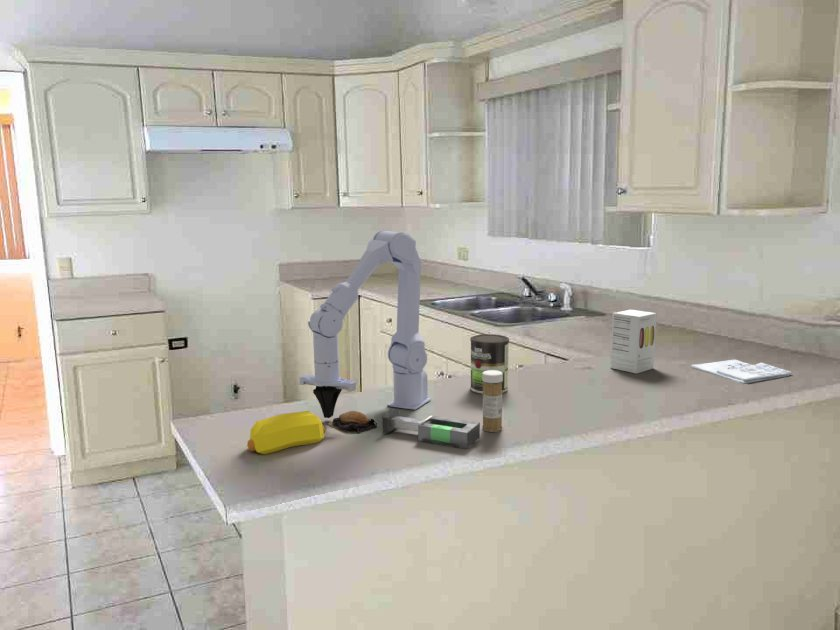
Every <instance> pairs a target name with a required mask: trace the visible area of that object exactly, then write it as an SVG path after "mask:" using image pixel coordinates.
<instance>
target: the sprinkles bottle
mask: <svg viewBox="0 0 840 630" xmlns="http://www.w3.org/2000/svg"><path fill="white" fill-rule="evenodd" d="M482 380H483V394H482V426H481V427H482V430H483V431H485V432H488V433H489V432H490V433H496V432H497V433H498V432H500V431H502V429H503V425H502V424H503V423H502V422H503V421H502V417H503V393H502V381H503V373H502V372H500V371H497V370H488V371H484V372H483V373H482Z"/></svg>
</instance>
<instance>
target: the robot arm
mask: <svg viewBox="0 0 840 630" xmlns="http://www.w3.org/2000/svg"><path fill="white" fill-rule="evenodd" d="M416 241H417V240H415V239H414V238H413V237H412V236H411V235H410V234H409V233H407V232H405V231H399V232H398V231H392V230H391V231H390V230H385V229H382V230H378V231H376V233H375V234H374V236H373V238H372V239H371V240H370V241H368V244H367V247H366V249H365V251H364V253H363V254H362V256H361V258H360V259H359V261H358V262H357V264H356V265H355V267H354V269H353V270H352V271H351V273H350V275H349V276H348V278H347V279H346V281H344V282H338V284H337V285H333V287H332V288H331V289H330V290H331V293H330V294H329V296H328V297H327V299H326V300H325V301H324V303H321V304H320V305H319V308H320V309H317V310H315V311H313V313H312V314H311V316H310V317H309V321H307V324H308V328H309V329H310V331H311V332H312V335H313V337H312V338H313V342H312V343H313V360H314V361H313V362H314V363H313V365H314V374H313V375H310V374H308V375H307V374H304V375H300V376H299V377H298V379H299V385H300V386H305V385H306V386H315V388H314V389H313V390H312V393H313V395H314V396H315V398H316V399H317V401H318V404H319V406H320V409H321V411H322V415H323V418H324V419H330V418H332V417H333V416H334V413H335V409H336V403H337V402H338V400H339V399H338V398H339V396H340V394H341V392H342V390H343V391H344V390H345V391H348V392H350V393H351V392H354V391H356V390H357V381H356V380H355V381H354V380H350V379H347V378H343V377H341V376H340V360H339V359H340V357H339V333H340V332H341V331H342V329H343V326H344V325H343V323H344V322H343V321H344V319H345V317H346V316H347V314H348V313H349V312H350V310H351V309H352V307H353V306H354V305H355V303H356V302H357V300H358V299H359V292H358V291H359V290H360V289H361V287H362V286H363V285H364V283H365V282H366V281H367V280H368V279H369V278H370V276H371V275H372V273H373V272H375V269H377V268H378V266H380V265H383V264H388V263H392V264H393V265H394V266H395V268H397V269H398V276H397V277H398V280H397V305H396V306H397V310H396V311H397V312H396V313H397V315H396V332H395V333H394V334H393V335H392V336H391V342H390V345H389V348H388V350H387V359H388V361H389V362H390V363H391V364H392V371H393V372H392V375H393V377H392V378H393V379H392V381H393V400H392V401H390V402H389V403H387V404H386V405H387V407H392V408H400V409H406V410H414V411H416V410H417V409H419V408H420V407H422V406H423V405H425V404H427V403H428V402H429V401H431V400H432V398H431V397H428V394H429V393H428V391H429V388H428V385H429V384H428V381H429V380H428V374H427V372H426V370H425V369H424V368H425V367H426V365H427V362H428V354H427V352H426V349H425V347H426V346H425V345H426V344H425V341H424V339H423V337H422V336H421V335H420V333H419V331H420V330H419V327H420V326H419V325H420V305H421V304H420V303H421V302H420V297H421V277H422V276H421V275H422V274H421V273H422V271H421V269H422V261H421V258H420V256H419V253H418V250H417V248H416V244H417V242H416Z"/></svg>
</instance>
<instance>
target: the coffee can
mask: <svg viewBox="0 0 840 630" xmlns="http://www.w3.org/2000/svg"><path fill="white" fill-rule="evenodd" d="M469 339H470V390H471V391H472V392H473V393H476V394H477V393H478V394H482V395H483V380H482V373H483V372H484V371H488V370H497V371H500V372H502V373H503V381H502V394H504V393H506V392H508V390H509V342H510V338H509V337H508V336H506V335H501V334H492V333H491V334H486V333H485V334H484V333H483V334H477V335H476V334H475V335H473V336H470V338H469Z"/></svg>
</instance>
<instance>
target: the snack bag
mask: <svg viewBox="0 0 840 630" xmlns="http://www.w3.org/2000/svg"><path fill="white" fill-rule="evenodd" d="M690 368H691V369H693V370H698V371H700V372H701V371H702V372H705V373H708V374H711V375H714V376H716V377H717V376H718V377H721V378H724V379H726V380H730V381H734V382H736V383H739V384H748V383H755V382H760V381H766V380H772V379H777V378H783V377H788V376H789V377H790V376H791V374H793V373H792V372H791V370H787V369H783V368H780V367H777V366H773V365H770V364H767V363H764V362H759V363H756V364H752V363H747V362H744V361H741V360H738V359H728V360H722V361H721V360H720V361H713V362H708V363H698V364H697V363H696V364H691V365H690Z"/></svg>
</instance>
